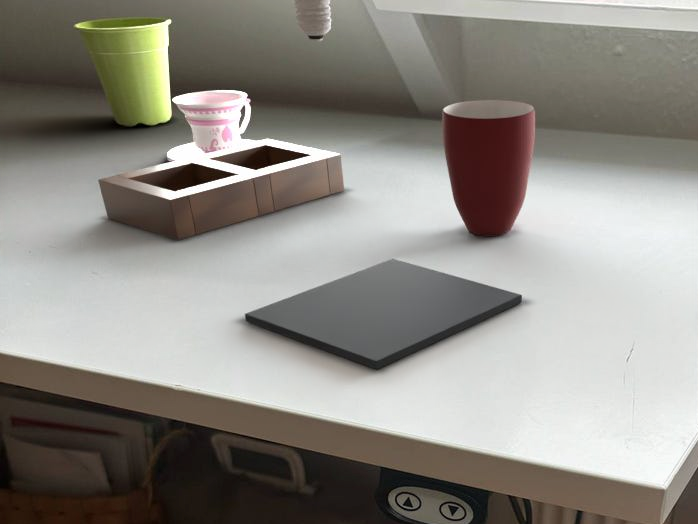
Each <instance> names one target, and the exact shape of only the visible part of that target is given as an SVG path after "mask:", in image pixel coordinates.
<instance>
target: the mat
mask: <svg viewBox="0 0 698 524" xmlns="http://www.w3.org/2000/svg"><path fill="white" fill-rule="evenodd" d="M521 303H523V295H522V294H520V293H516V292H513V291H510V290H506V289H502V288H498V287H496V286H492V285H487V284H484V283H481V282H477V281H473V280H472V279H471V280H470V279H467V278H463V277H459V276H456V275H452V274H448V273H446V272H442V271H438V270H435V269H431V268H427V267H425V266H421V265H417V264H413V263H410V262H407V261H402V260H399V259H396V258H391V259H388V260H385V261H382V262H380V263H377V264H374V265H372V266H369V267H366V268H364V269H361V270H358V271H356V272H354V273H350V274H347V275H345V276H343V277H340V278H337V279H334V280H331V281H329V282H326V283H324V284H321V285H318V286H315V287H313V288H311V289H308V290H305V291H302V292H300V293H297V294H295V295H292V296H289V297H286V298H283V299H281V300H278V301H275V302H273V303H270V304H267V305H265V306H262V307H259V308H257V309H254V310H252V311H249V312H246V313H244V317H245V318H244V319H245V322H247V323H248V324H249V323H250V324H252V325H255V326H258V327H260V328H263V329H266V330H269V331H271V332H274V333H276V334H280V335H282V336H285V337H288V338H291V339H293V340H296V341H298V342H301V343H304V344H307V345H309V346H312V347H315V348H317V349H320V350H323V351H325V352H328V353H331V354H334V355H337V356H340V357H342V358H345V359H347V360H350V361H353V362H356V363H359V364H361V365H364V366H367V367H369V368H371V369H374V370H379V369H381V368H383V367H386V366H388V365H389V364H393V363H394V362H396V361H398V360H401V359H403V358H405V357H407V356H409V355H411V354H413V353H415V352H418V351H420V350H422V349H425V348H426V347H429V346H431V345H433V344H435V343H437V342H439V341H441V340H444V339H446V338H448V337H450V336H452V335H454V334H456V333H459V332H460V331H464V330H465V329H467V328H469V327H472V326H475V324H478V323H481V322H483V321H484V320H485V321H486V319H489V318H491V317H494V316H495V315H497V314H499V313H502V312H504V311H506V310H508V309H510V308H513V307H515V306H517V305H519V304H521Z"/></svg>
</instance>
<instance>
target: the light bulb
mask: <svg viewBox="0 0 698 524" xmlns="http://www.w3.org/2000/svg"><path fill="white" fill-rule="evenodd" d="M330 4H331V0H294V6H295V9H296V10H295V13H296V20H297V26H298V30H299V32H301V33H303V34H304V35H306V36H307V38H308V39H309V41H310V42H322V41H323V39H324V36H325V35H326V34H327V33H329V31H330V30H331V29H332V25H331V24H332V22H333V21H332V18H331V16H332V12H331V6H330Z"/></svg>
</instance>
